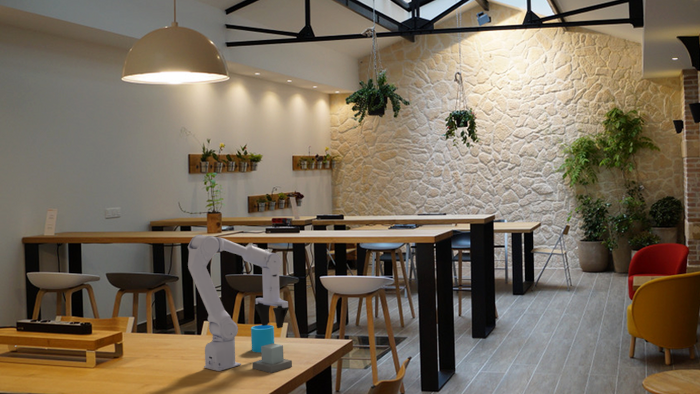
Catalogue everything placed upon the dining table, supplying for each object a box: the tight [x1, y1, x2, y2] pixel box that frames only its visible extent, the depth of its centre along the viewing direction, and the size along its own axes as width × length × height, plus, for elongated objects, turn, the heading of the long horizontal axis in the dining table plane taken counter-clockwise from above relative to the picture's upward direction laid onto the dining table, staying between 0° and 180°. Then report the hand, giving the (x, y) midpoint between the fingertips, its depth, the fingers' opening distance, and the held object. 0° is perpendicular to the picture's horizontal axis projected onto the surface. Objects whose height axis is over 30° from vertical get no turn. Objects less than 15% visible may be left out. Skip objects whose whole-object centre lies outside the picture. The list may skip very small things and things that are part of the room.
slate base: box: [251, 358, 293, 374], centre depth 216 cm, size 9×9×2 cm
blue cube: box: [260, 343, 285, 364], centre depth 216 cm, size 5×5×5 cm
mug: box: [250, 324, 275, 353], centre depth 243 cm, size 12×8×8 cm
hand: (272, 326), depth 230 cm, fingers open, 7 cm apart
